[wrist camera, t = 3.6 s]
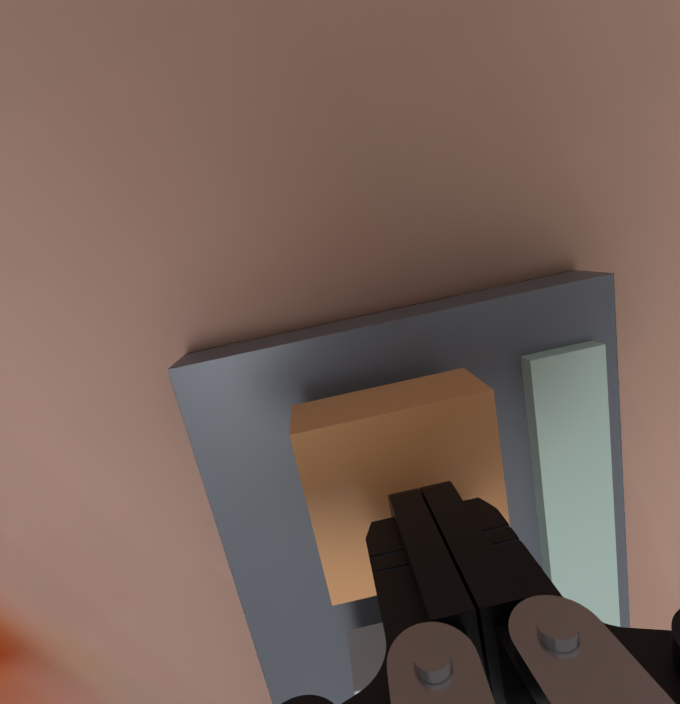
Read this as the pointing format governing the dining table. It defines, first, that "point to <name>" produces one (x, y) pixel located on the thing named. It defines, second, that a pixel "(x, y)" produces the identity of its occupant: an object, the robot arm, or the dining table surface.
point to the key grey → (366, 654)
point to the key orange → (390, 461)
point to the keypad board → (395, 366)
